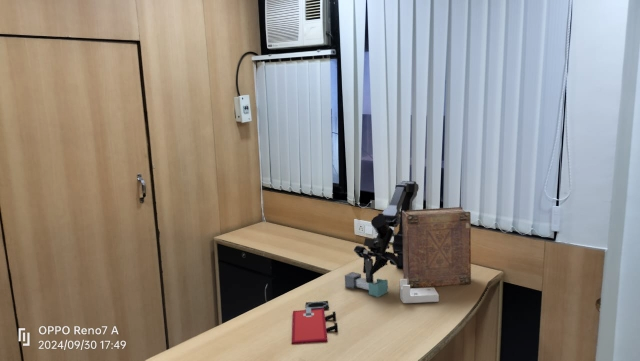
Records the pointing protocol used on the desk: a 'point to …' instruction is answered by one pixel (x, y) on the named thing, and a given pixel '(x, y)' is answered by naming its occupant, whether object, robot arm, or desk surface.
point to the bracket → (417, 293)
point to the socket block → (378, 288)
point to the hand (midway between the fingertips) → (367, 273)
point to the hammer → (369, 278)
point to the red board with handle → (312, 323)
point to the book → (436, 247)
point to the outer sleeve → (351, 280)
